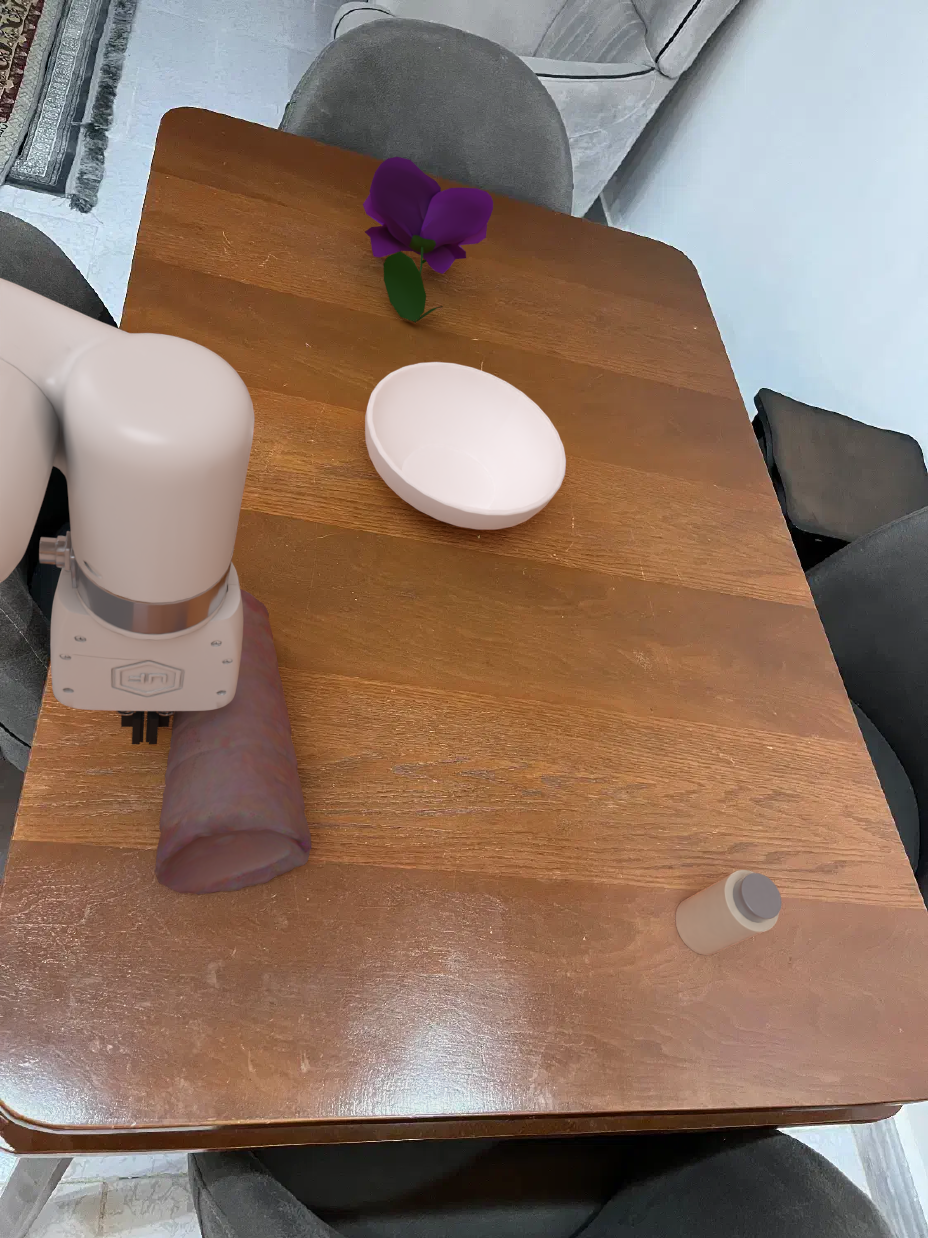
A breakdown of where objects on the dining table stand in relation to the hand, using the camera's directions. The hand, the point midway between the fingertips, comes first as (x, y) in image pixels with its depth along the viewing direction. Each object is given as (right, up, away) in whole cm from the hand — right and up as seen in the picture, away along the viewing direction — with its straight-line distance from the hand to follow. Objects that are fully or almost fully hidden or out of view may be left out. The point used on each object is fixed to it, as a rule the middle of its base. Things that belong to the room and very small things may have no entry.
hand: (145, 724), depth 57 cm
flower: (+15, +45, +43) cm, 64 cm away
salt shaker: (+40, -17, +8) cm, 44 cm away
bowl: (+20, +20, +27) cm, 39 cm away
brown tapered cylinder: (+5, -3, +5) cm, 7 cm away
